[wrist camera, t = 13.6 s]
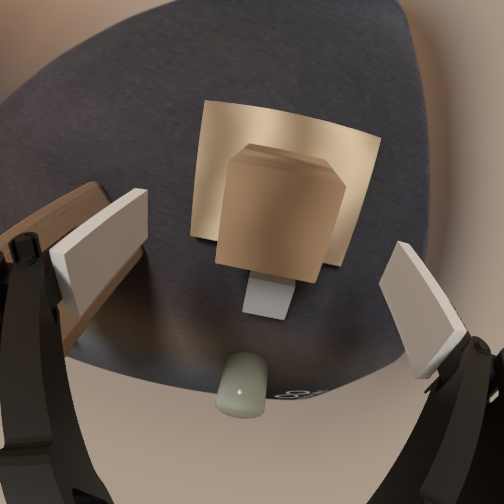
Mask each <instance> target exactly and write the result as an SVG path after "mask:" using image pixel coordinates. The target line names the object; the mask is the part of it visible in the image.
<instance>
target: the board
mask: <svg viewBox="0 0 504 504" xmlns="http://www.w3.org/2000/svg"><path fill="white" fill-rule="evenodd" d="M380 141H381V138H379V137H376V136H373V135H370V134H367V133H364V132H361V131H358V130H355V129H351V128H348V127H345V126H341V125H338V124H334V123H330V122H327V121H323V120H319V119H315V118H311V117H306V116H302V115H298V114H293V113H288V112H283V111H278V110H273V109H267V108H261V107H255V106H249V105H242V104H234V103H226V102H217V101H207V100H205V104H204V110H203V117H202V124H201V132H200V139H199V148H198V156H197V165H196V174H195V184H194V195H193V207H192V220H191V234H190V236H195V237H200V238H205V239H210V240H215V241H218V234H219V226H220V218H221V210H222V203H223V196H224V188H225V181H226V174H227V167H228V161H229V160H230V159H231V158H233V157H234V156H235V155H236V154H237V153H238V152H240V151H241V150H242V149H243V148H244V147H245V146H247V145H248V144H249V143H251V144H256V145H262V146H267V147H272V148H277V149H282V150H287V151H291V152H296V153H300V154H305V155H309V156H313V157H317V158H321V159H325V160H326V161H327V162H328V164H329V165H330V166H331V167H332V169H333V170H334V171H335V172H336V174H337V175H338V176H339V178H340V179H341V180H342V181H343V183H344V184H345V185H346V190H345V194H344V197H343V200H342V204H341V207H340V210H339V214H338V217H337V220H336V223H335V226H334V230H333V233H332V236H331V239H330V242H329V245H328V248H327V251H326V254H325V257H324V260H323V263H326V264H331V265H336V266H341V264H342V262H343V259H344V256H345V254H346V251H347V248H348V245H349V243H350V240H351V237H352V234H353V231H354V228H355V225H356V222H357V219H358V216H359V213H360V210H361V207H362V204H363V201H364V198H365V195H366V191H367V188H368V185H369V181H370V178H371V174H372V171H373V167H374V164H375V160H376V156H377V153H378V149H379V145H380Z"/></svg>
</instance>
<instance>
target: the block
mask: <svg viewBox="0 0 504 504" xmlns="http://www.w3.org/2000/svg"><path fill="white" fill-rule="evenodd" d="M110 204H112V203H111V201H110V199H109V198H108V196H107V195H106V193H105V192H104V190H103V189H102V187H101V185H100V184H99V183H97V182H96V181H93V182H89V183H87V184H85V185H83V186H81V187H79V188H77V189H75V190H73V191H71V192H69V193H68V194H66V195H64V196H62V197H60V198H59V199H57V200H55V201H53V202H52V203H50V204H48V205H46V206H45V207H43V208H41V209H40V210H38V211H37V212H35V213H33V214H32V215H30V216H29V217H27V218H25V219H24V220H22V221H21V222H19V223H18V224H16V225H15V226H13V227H12V228H10V229H9V230H8V231H6V232H5V233H3V234H2V235H0V251H2V252H3V253H4V257H5V260H6V262H10V263H13V260H12V257H11V253H10V249H9V246H8V243H9V241H10V240H11V239H12V238H13V237H15V236H17V235H19V234H21V233H24V232H35V233H37V234H38V237H39V242H40V246H41V251H42V252H43V251H44V250H46V249H47V248H48V247H49V246H51V245H52V244H53V243H54V242H56V241H57V240H59V239H60V238H61V237H62V236H63V235H65V234H66V233H67V232H69V231H70V230H71V229H73V228H75V227H77V226H79V225H82V224H83V223H84V222H86V221H87V220H89V219H90V218H91V217H93V216H94V215H96V214H97V213H98V212H100V211H101V210H103V209H104V208H106V207H107V206H109V205H110ZM142 255H143V249H142V246H141V245H140V246H139V248H138V249H137V250H136V251H135V252H134V253H133V254H132V255H131V256H130V258H129V259H128V260H127V261H126V262H125V263H124V264H123V265H122V267H121V268H120V269H119V270H118V271H117V272H116V274H115V275H114V276H113V277H112V278H111V279H110V281H109V282H108V283H107V284H106V285H105V287H104V288H103V289H102V290H101V291H100V293H99V294H98V295H97V296H96V298H95V299H94V300H93V301H92V302H91V304H90V305H89V306H88V308H87V309H86V310H85V311H84V313H83V314H82V315H81V317H80V316H77V315H75V314H73V313H70V312H68V311H66V309H65V306H64V303H63V300H61V301H60V303H59V304H58V305H57V306H58V309H59V312H60V325H61V335H62V344H63V352H64V358H65V357H66V355H67V354H68V352H69V351H70V349H71V348H72V346H73V345H74V344H75V342H76V341H77V339H78V338H79V336H80V335H81V334H82V332H83V331H84V329H85V328H86V327H87V325H88V324H89V323H90V321H91V320H92V319H93V317H94V316H95V315H96V313H97V312H98V311H99V309H100V308H101V307H102V305H103V304H104V303H105V302H106V300H107V299H108V298H109V296H110V295H111V294H112V293H113V291H114V290H115V289H116V288H117V286H118V285H119V284H120V283H121V281H122V280H123V279H124V278H125V277H126V275H127V274H128V273H129V272H130V270H131V269H132V268H133V267H134V266H135V264H136V263H137V262H138V261H139V260H140V258H141V256H142Z"/></svg>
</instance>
